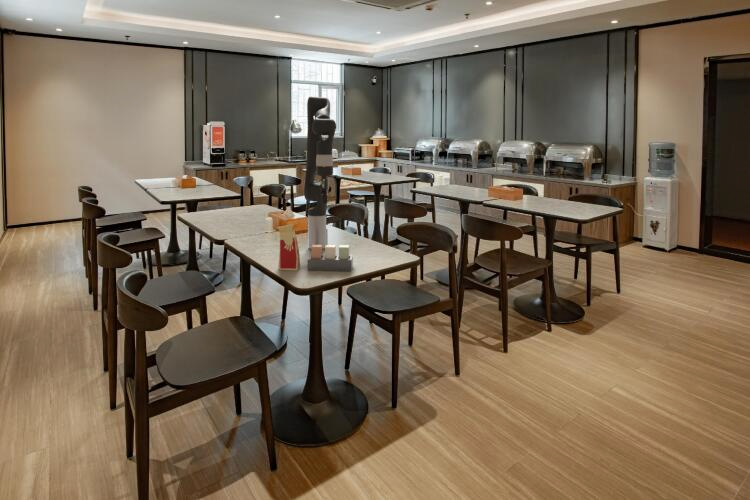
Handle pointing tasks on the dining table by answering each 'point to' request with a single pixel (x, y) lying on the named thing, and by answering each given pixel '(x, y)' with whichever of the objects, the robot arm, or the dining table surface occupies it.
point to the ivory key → (330, 252)
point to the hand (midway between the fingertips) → (325, 203)
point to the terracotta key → (316, 251)
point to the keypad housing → (330, 264)
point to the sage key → (344, 252)
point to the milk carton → (288, 249)
